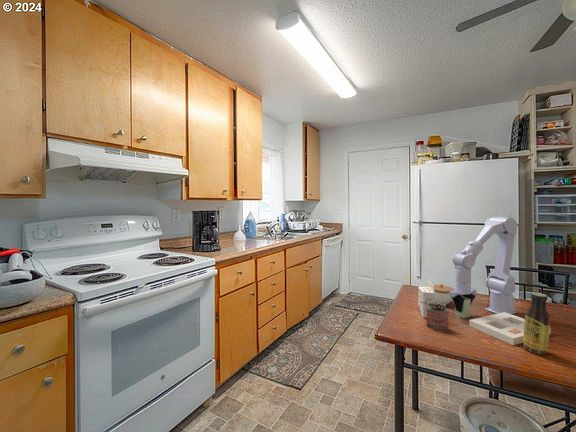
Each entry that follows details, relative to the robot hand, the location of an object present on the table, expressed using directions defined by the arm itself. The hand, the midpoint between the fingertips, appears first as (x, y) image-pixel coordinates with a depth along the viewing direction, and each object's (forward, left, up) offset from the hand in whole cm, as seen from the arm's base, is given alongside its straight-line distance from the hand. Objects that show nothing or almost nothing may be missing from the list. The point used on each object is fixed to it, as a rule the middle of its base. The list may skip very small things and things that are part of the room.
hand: (462, 310), depth 119 cm
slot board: (-4, +16, -2) cm, 17 cm away
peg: (0, 0, -2) cm, 2 cm away
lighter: (+20, +4, -3) cm, 21 cm away
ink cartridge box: (+14, -7, -3) cm, 16 cm away
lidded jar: (-5, -15, -3) cm, 16 cm away
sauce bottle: (+4, +29, -3) cm, 29 cm away
